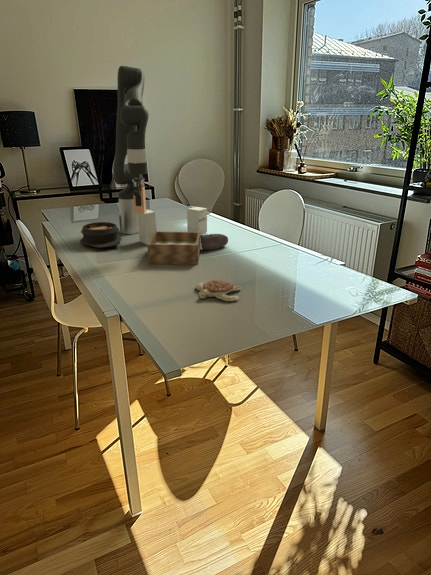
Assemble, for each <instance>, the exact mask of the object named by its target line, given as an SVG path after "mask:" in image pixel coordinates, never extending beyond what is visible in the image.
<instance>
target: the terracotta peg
mask: <svg viewBox="0 0 431 575" xmlns="http://www.w3.org/2000/svg"><path fill="white" fill-rule="evenodd" d="M145 188H146V187H145V186H144V187H142V191H141V204H142V205H141V206H136V200H135V196H134V195H133V199H134V213H135V214H144V213H145V212H146V210H147V204H146V189H145ZM136 193H138V191H136Z"/></svg>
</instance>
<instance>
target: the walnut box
mask: <svg viewBox="0 0 431 575" xmlns="http://www.w3.org/2000/svg"><path fill="white" fill-rule="evenodd" d="M200 236H201V234H200V232H187V231H158V230H157V231H155V232H154V234H153V236H152V237H151V239H150V241H149V242H148V244H147V245H146V247H147V263H148V264H150V265H153V264H154V265H155V264H156V265H159V264H160V265H199V260H200V254H201V238H200Z"/></svg>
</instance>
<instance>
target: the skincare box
mask: <svg viewBox="0 0 431 575" xmlns="http://www.w3.org/2000/svg"><path fill="white" fill-rule="evenodd" d="M137 216H138V227H139V232H138V233H139V242H140V243H142V244H144V245H146V246H147V244H148V242H149V241H150V239H151V237H152V236H153V234H154V232H155V231H158V230H157V221H156V220H157V219H156V211H154V210H150V209H148V208H146V212H145V213H144V214H137Z"/></svg>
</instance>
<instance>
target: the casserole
mask: <svg viewBox="0 0 431 575" xmlns="http://www.w3.org/2000/svg"><path fill="white" fill-rule="evenodd" d="M118 232H120V227H118V225H117V224H116V223H113V222H109V221H108V222H105V221H104V222H103V221H100V222H99V221H98V222H90V223H87V224H85V225H83V226H82V228H81V231H80V233H81V234H82V238H80V243H81V244H83V245H86V246H91V247H92V248H99V249H100V248H102V249H103V248H110V247H115V246H118V245H120V243H121V241H122V239H123V238H122V237H121V236H120V235H118Z"/></svg>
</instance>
